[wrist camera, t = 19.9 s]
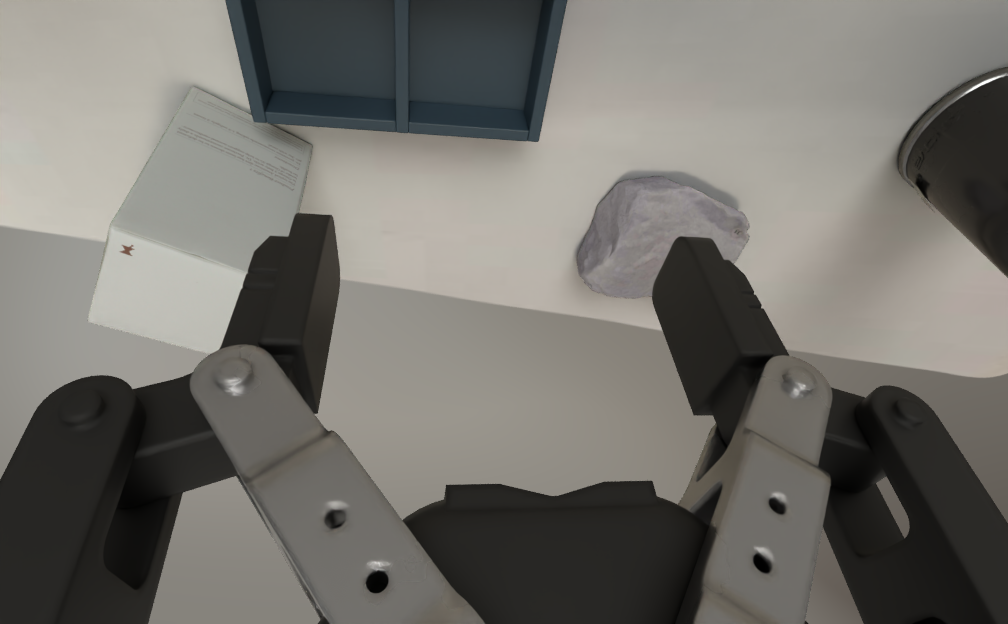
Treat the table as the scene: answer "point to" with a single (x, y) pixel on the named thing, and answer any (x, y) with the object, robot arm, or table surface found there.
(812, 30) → the table surface
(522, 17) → the compartment grid tray
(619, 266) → the stone block
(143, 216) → the white packaging box
